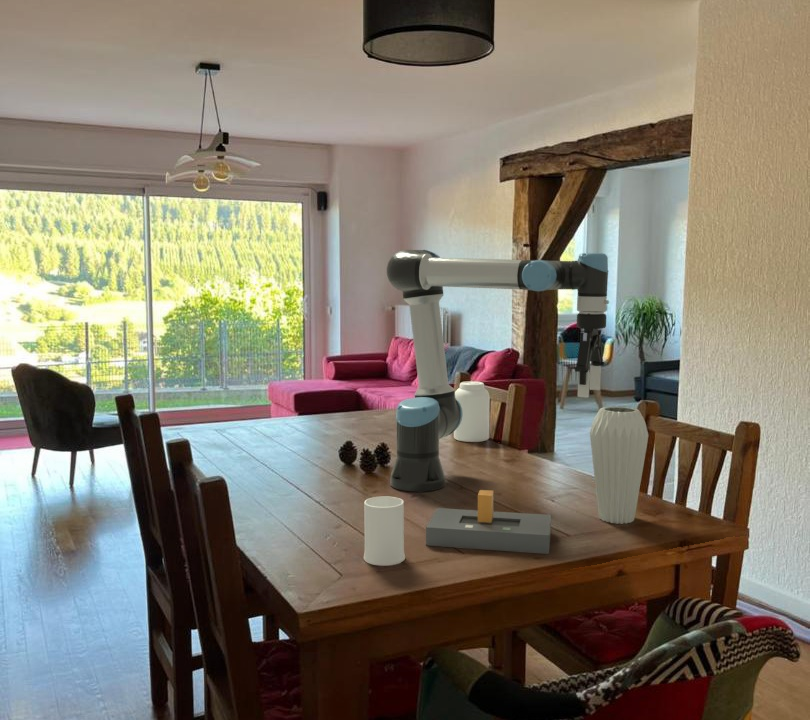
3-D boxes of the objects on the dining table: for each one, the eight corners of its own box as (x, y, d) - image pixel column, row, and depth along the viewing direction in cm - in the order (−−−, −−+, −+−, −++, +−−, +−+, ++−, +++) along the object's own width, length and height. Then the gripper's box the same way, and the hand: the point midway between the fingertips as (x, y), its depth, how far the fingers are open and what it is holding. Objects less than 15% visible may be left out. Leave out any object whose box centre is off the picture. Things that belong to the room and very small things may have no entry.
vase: (636, 531, 178) (640, 416, 175) (579, 521, 185) (582, 411, 182) (652, 515, 190) (656, 407, 187) (598, 507, 197) (600, 402, 194)
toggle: (477, 521, 172) (477, 494, 171) (479, 516, 176) (479, 489, 175) (491, 522, 171) (491, 495, 171) (493, 517, 175) (493, 490, 175)
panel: (426, 545, 170) (426, 526, 169) (436, 524, 183) (437, 507, 183) (548, 553, 164) (549, 534, 164) (550, 532, 178) (551, 514, 178)
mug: (351, 550, 167) (350, 494, 166) (387, 543, 171) (387, 489, 169) (373, 568, 157) (373, 510, 155) (412, 561, 160) (412, 504, 159)
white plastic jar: (495, 437, 278) (496, 381, 276) (479, 444, 268) (479, 385, 266) (464, 433, 285) (464, 378, 283) (447, 440, 275) (447, 383, 272)
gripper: (595, 315, 193) (592, 401, 196) (615, 310, 215) (613, 387, 218) (565, 314, 196) (562, 399, 199) (588, 310, 219) (585, 386, 221)
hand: (589, 393), depth 208 cm, fingers open, 13 cm apart
